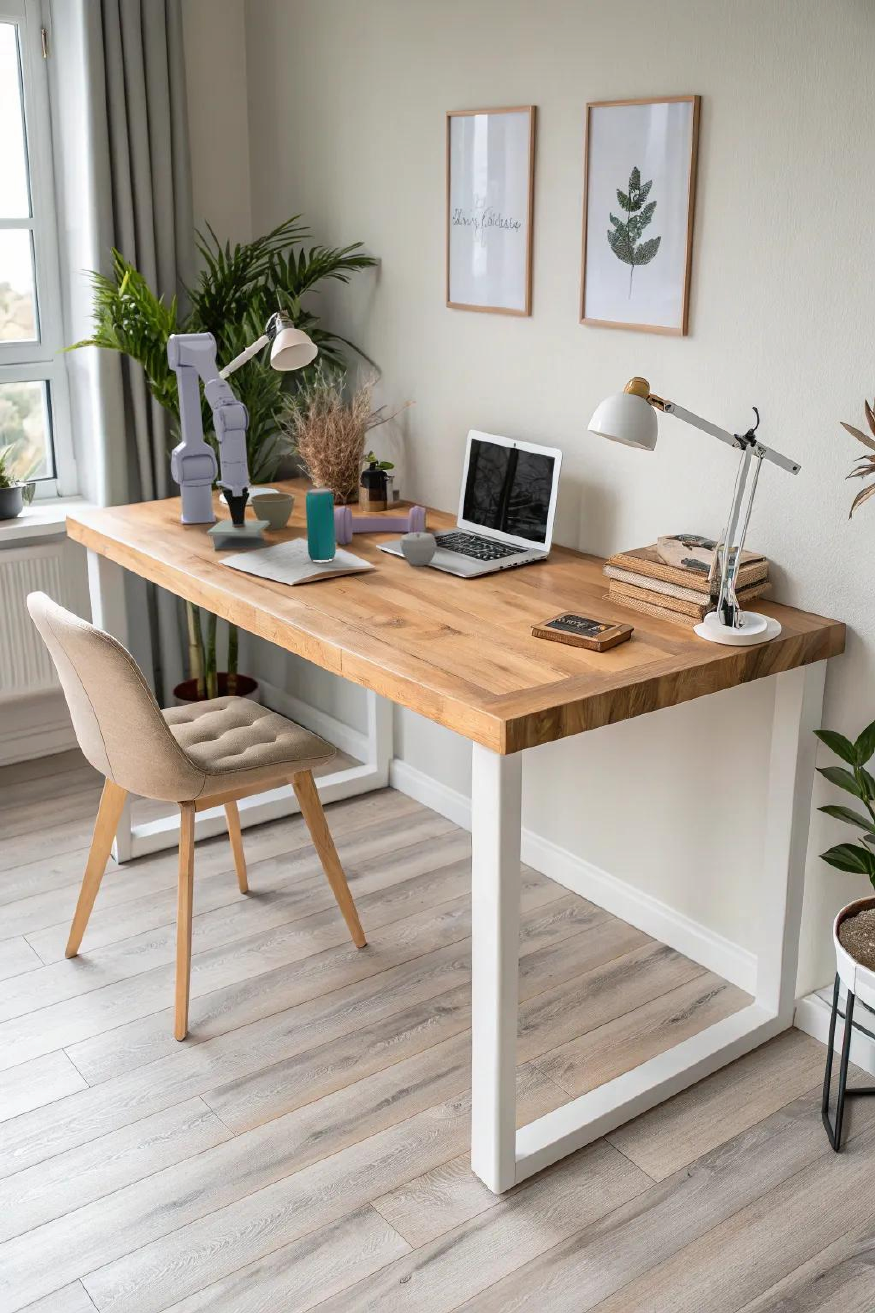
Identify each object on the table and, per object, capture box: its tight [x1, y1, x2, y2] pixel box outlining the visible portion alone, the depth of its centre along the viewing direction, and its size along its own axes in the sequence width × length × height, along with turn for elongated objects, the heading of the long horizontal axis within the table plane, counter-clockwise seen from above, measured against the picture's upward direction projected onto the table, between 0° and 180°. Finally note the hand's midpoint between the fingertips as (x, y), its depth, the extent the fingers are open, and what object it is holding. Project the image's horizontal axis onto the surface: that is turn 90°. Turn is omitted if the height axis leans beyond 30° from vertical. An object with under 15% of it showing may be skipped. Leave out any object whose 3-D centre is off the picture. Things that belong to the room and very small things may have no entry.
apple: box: [399, 532, 438, 567], centre depth 257 cm, size 8×8×7 cm
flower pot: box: [250, 492, 295, 530], centre depth 290 cm, size 10×10×7 cm
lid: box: [206, 515, 270, 536], centre depth 275 cm, size 11×11×5 cm
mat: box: [212, 532, 267, 552], centre depth 277 cm, size 12×11×1 cm
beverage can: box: [305, 486, 337, 560], centre depth 259 cm, size 6×6×15 cm
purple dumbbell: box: [334, 505, 427, 546], centre depth 279 cm, size 20×10×20 cm
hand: (237, 522), depth 275 cm, fingers closed on lid, 3 cm apart
